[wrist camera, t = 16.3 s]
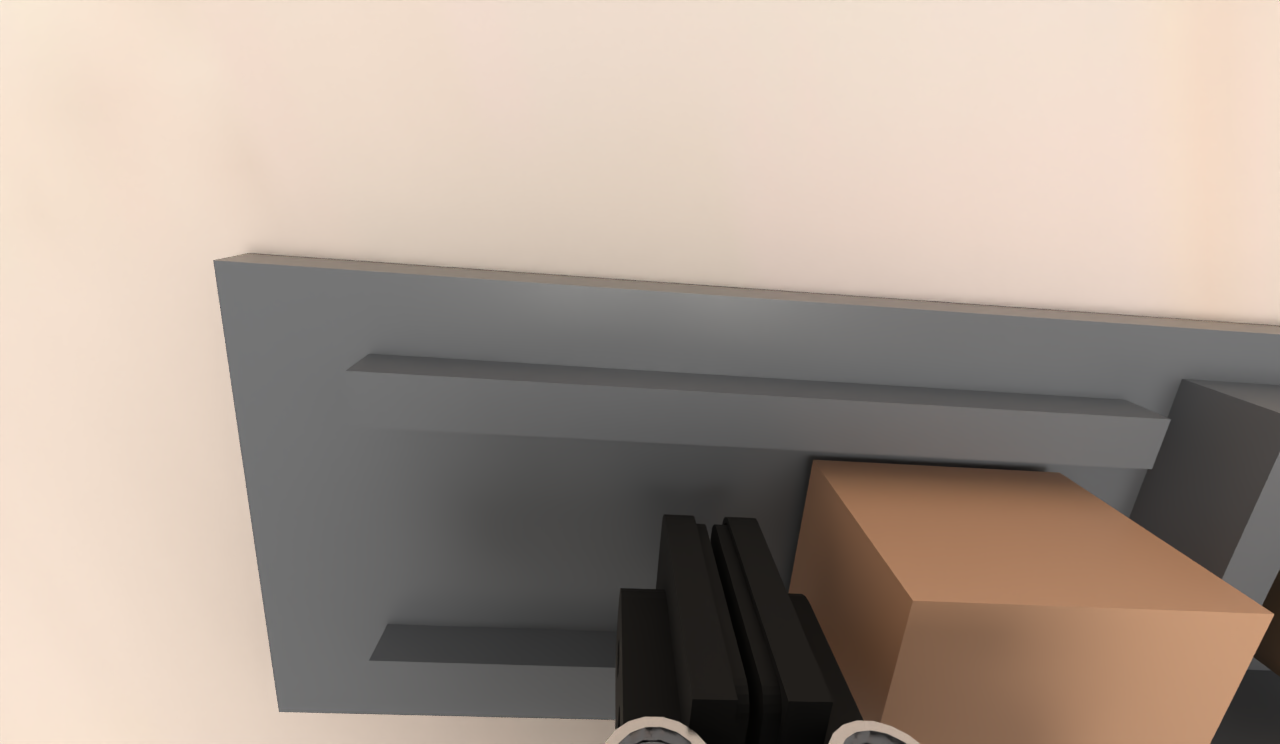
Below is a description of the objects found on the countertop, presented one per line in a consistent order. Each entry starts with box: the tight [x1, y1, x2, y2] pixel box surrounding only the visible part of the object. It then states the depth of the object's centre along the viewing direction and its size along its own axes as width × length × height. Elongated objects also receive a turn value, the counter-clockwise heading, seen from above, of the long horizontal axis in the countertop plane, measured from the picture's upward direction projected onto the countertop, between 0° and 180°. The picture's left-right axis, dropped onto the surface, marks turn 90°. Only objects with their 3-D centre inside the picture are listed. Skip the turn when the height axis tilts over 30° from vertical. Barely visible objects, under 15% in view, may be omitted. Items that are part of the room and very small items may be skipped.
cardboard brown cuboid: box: [788, 460, 1274, 744], centre depth 10 cm, size 4×5×4 cm
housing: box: [213, 253, 1280, 744], centre depth 12 cm, size 10×28×3 cm, turn 86°
